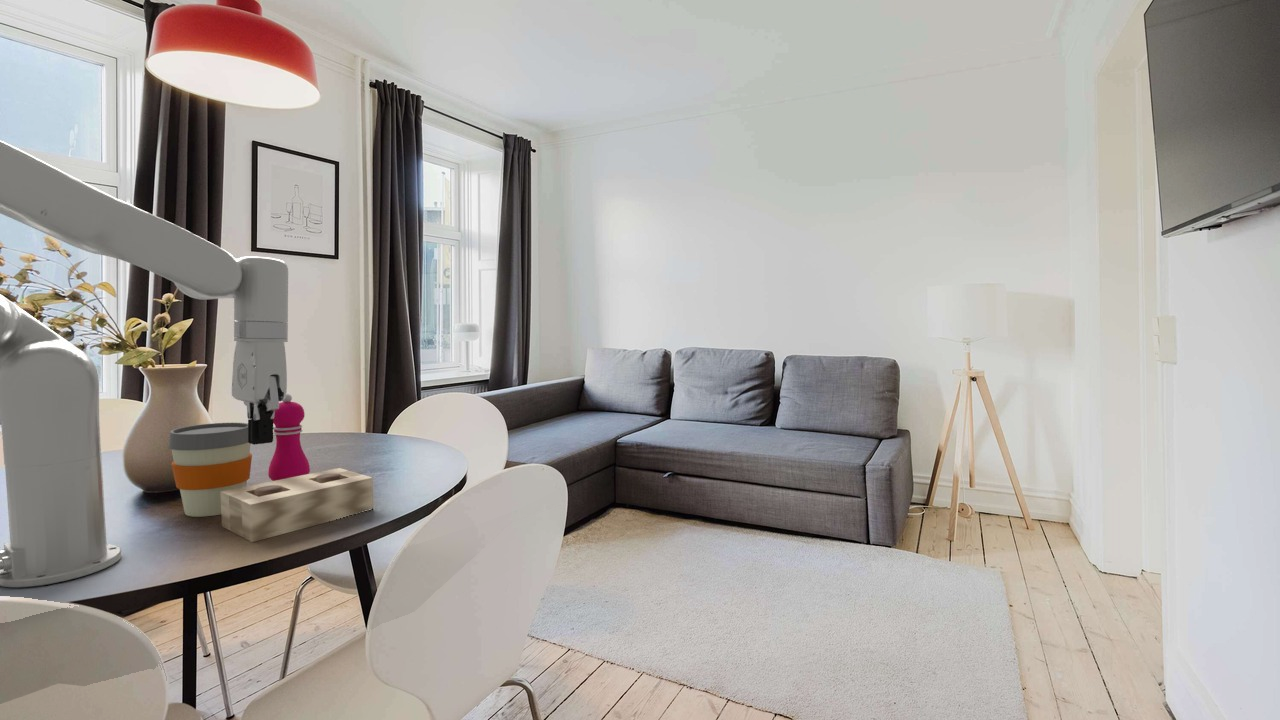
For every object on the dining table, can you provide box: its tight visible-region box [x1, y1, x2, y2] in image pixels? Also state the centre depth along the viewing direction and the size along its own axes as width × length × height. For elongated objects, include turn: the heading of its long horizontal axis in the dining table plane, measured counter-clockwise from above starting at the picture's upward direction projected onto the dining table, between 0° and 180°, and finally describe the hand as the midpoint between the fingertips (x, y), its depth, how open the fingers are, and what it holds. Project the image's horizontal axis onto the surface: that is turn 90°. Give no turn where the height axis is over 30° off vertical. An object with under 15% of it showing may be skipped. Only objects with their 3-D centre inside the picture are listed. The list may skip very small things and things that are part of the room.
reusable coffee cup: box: [168, 422, 253, 518], centre depth 109 cm, size 13×12×15 cm
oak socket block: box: [220, 467, 374, 543], centre depth 105 cm, size 20×12×6 cm, turn 144°
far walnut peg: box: [316, 473, 341, 483], centre depth 109 cm, size 4×4×6 cm
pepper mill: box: [267, 393, 311, 481], centre depth 120 cm, size 7×7×20 cm
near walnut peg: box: [254, 485, 283, 497], centre depth 101 cm, size 4×4×6 cm
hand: (260, 442), depth 99 cm, fingers closed
